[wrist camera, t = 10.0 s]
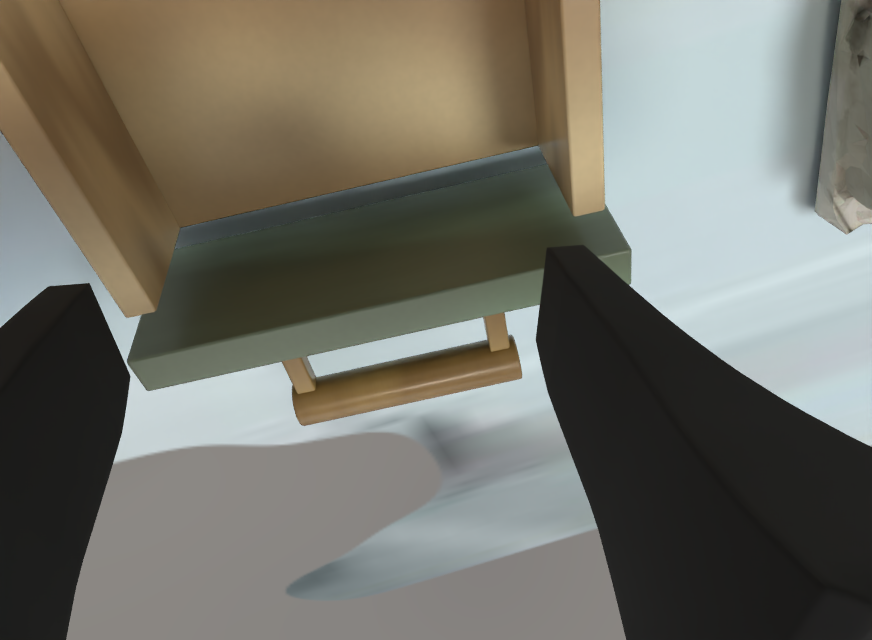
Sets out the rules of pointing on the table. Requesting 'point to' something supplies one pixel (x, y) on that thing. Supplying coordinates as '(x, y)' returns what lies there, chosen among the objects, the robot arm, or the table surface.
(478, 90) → the drawer
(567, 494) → the table surface
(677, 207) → the table surface
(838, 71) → the packaged product
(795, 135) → the table surface
